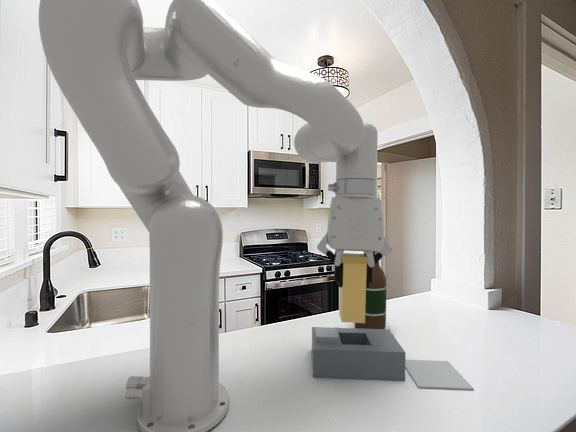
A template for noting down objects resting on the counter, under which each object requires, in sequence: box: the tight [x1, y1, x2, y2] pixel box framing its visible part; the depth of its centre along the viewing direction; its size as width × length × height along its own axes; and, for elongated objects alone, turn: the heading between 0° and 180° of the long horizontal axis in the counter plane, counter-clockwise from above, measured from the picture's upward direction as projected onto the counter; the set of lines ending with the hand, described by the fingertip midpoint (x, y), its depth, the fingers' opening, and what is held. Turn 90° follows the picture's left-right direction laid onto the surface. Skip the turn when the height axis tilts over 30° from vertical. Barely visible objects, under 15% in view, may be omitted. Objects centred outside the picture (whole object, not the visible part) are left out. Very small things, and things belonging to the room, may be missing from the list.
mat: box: [405, 359, 475, 391], centre depth 53 cm, size 9×9×1 cm
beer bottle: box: [354, 251, 387, 329], centre depth 74 cm, size 8×8×24 cm
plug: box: [338, 252, 369, 324], centre depth 56 cm, size 5×5×12 cm
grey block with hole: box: [311, 326, 406, 382], centre depth 57 cm, size 16×10×6 cm, turn 87°
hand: (352, 285), depth 56 cm, fingers closed on plug, 4 cm apart
